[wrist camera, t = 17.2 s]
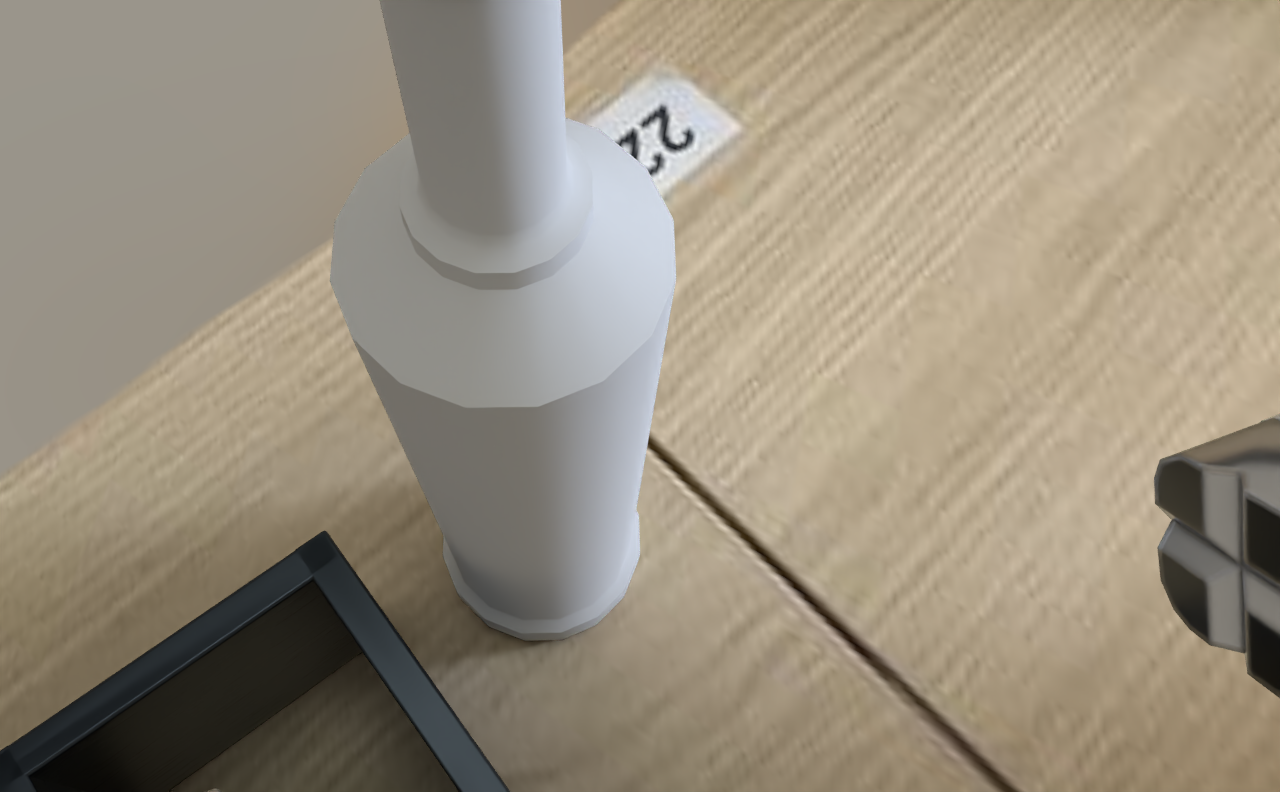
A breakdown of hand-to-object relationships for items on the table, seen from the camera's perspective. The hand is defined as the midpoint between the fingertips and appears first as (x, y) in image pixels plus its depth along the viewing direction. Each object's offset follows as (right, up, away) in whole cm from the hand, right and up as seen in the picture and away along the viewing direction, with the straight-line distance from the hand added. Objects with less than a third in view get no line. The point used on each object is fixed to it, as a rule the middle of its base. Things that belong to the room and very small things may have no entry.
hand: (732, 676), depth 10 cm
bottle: (-3, -2, +23) cm, 24 cm away
